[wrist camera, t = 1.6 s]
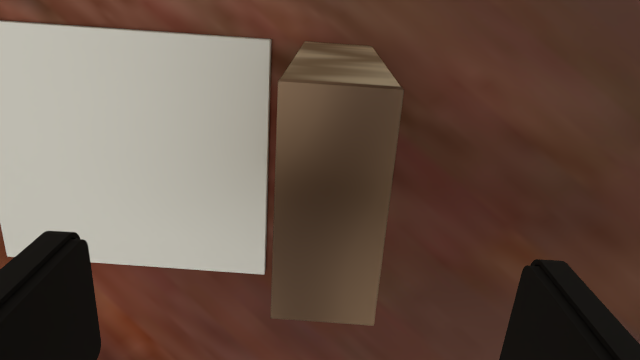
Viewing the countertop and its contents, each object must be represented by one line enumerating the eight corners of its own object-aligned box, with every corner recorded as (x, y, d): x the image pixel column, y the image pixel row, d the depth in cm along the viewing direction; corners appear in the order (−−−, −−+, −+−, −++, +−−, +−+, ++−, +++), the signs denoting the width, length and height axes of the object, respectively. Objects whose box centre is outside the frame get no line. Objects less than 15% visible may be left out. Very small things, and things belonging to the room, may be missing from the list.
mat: (271, 39, 25) (269, 40, 24) (265, 269, 30) (264, 274, 29) (-33, 18, 25) (-42, 18, 24) (13, 251, 30) (7, 256, 29)
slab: (371, 45, 25) (403, 89, 13) (357, 187, 28) (373, 325, 16) (304, 41, 25) (278, 81, 13) (297, 183, 28) (270, 318, 16)
